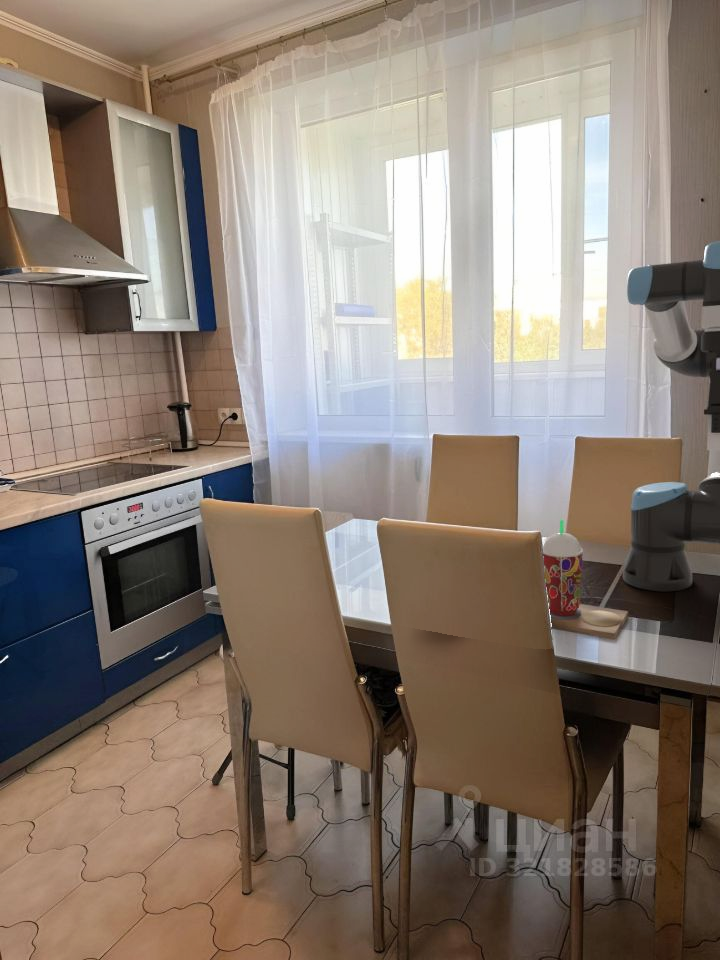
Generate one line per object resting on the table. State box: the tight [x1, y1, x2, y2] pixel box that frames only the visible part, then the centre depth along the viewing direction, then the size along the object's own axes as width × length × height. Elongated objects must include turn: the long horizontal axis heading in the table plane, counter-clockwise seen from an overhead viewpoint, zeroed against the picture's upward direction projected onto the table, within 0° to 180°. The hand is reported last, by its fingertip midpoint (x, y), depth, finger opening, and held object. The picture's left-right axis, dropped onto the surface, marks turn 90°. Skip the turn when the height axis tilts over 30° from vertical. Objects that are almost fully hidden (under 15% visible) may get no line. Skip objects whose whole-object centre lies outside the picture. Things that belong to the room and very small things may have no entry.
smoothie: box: [542, 519, 584, 616], centre depth 140 cm, size 8×8×20 cm
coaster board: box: [550, 603, 629, 640], centre depth 140 cm, size 12×16×1 cm
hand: (719, 444), depth 126 cm, fingers open, 13 cm apart
